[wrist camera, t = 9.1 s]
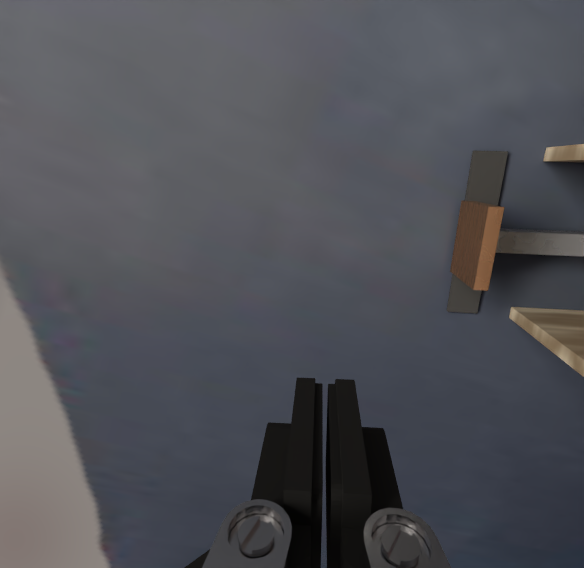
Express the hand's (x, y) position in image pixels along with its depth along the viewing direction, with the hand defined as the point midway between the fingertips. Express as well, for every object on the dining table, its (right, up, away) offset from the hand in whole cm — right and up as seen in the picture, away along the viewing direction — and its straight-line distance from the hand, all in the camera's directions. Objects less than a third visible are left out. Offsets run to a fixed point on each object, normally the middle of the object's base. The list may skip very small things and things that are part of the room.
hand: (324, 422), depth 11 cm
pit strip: (+17, +9, +26) cm, 32 cm away
